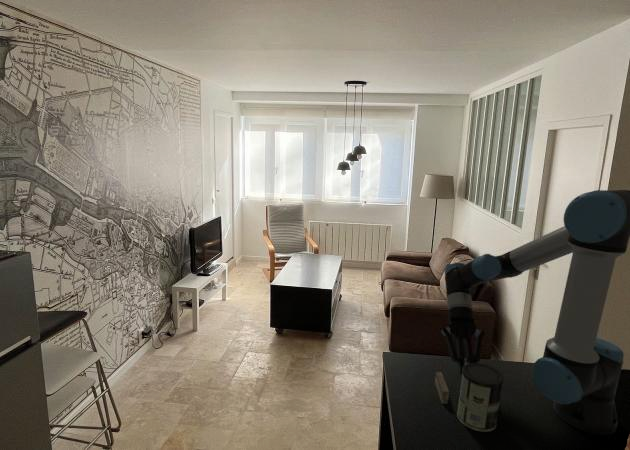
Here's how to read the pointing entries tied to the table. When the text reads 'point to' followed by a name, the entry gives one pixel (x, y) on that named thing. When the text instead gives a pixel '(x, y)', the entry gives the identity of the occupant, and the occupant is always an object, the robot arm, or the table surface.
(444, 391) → the chute
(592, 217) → the robot arm
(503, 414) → the table surface
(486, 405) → the coffee can
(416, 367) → the table surface
